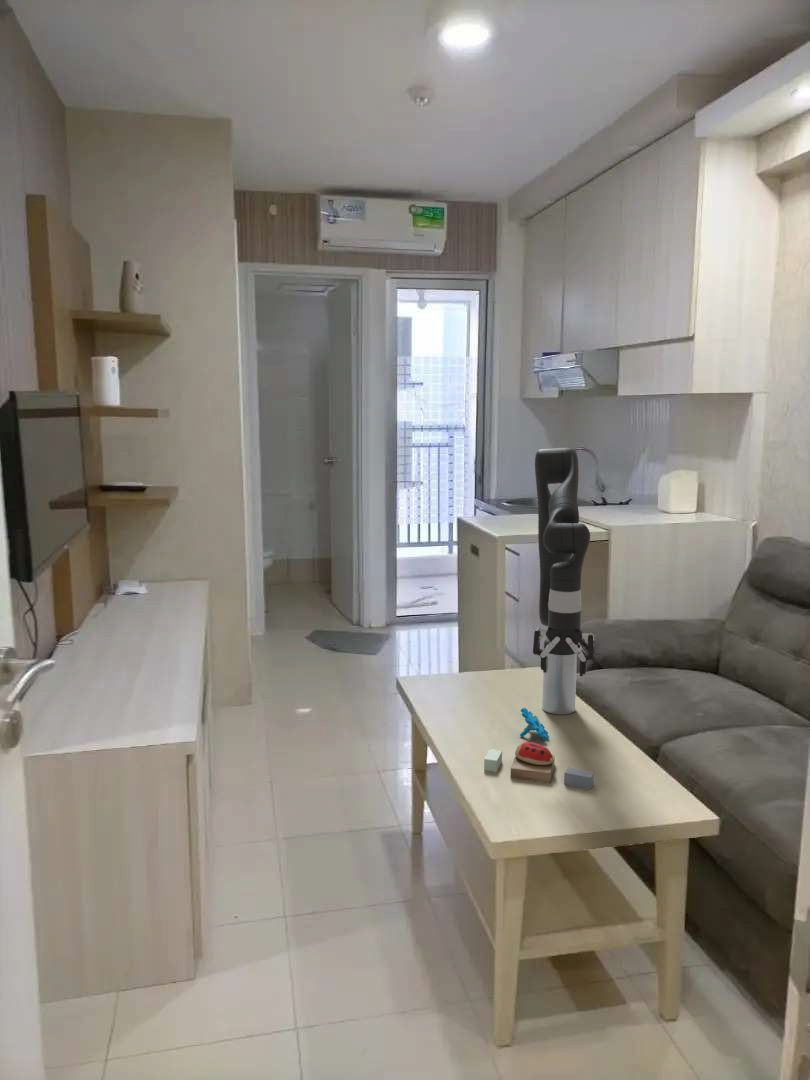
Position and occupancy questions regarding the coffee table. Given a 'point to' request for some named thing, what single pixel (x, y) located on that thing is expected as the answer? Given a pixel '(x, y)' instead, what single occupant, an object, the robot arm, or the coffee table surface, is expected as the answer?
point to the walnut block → (531, 770)
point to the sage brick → (493, 760)
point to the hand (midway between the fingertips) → (563, 673)
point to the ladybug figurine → (534, 753)
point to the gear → (533, 724)
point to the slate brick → (579, 778)
